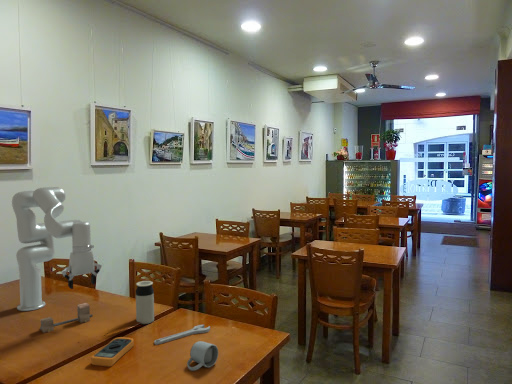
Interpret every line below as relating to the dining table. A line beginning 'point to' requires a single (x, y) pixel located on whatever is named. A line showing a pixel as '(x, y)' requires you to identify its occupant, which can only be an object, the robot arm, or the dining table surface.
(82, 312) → the block
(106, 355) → the multimeter
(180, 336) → the adjustable wrench
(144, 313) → the travel mug
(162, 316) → the dining table surface
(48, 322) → the bar clamp
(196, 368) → the ceramic mug
